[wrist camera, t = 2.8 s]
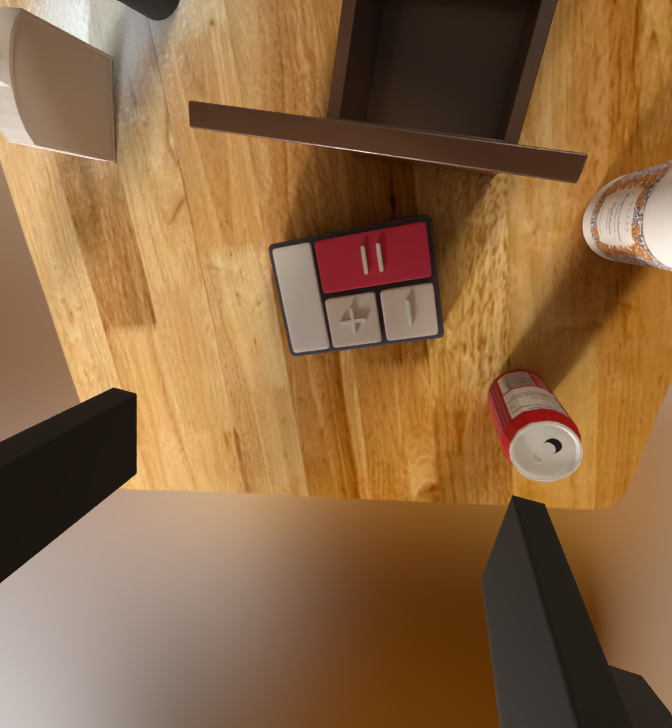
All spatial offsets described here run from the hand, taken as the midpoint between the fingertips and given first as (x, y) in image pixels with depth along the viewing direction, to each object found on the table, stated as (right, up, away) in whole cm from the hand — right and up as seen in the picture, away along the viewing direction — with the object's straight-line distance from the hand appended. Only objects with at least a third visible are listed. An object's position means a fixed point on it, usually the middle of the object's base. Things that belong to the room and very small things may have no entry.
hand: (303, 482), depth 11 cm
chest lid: (+4, +15, +9) cm, 17 cm away
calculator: (+3, +11, +30) cm, 32 cm away
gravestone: (-23, +29, +31) cm, 48 cm away
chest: (+10, +28, +23) cm, 38 cm away
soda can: (+19, 0, +30) cm, 35 cm away
